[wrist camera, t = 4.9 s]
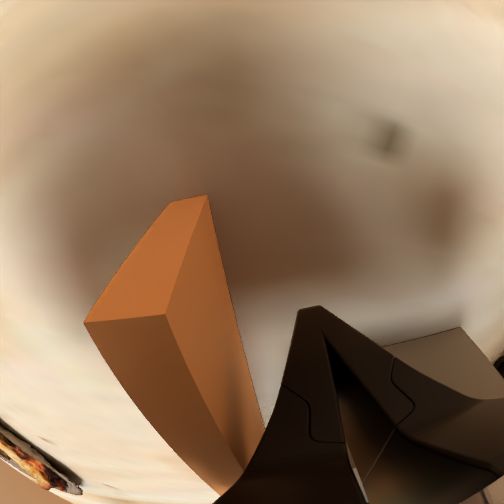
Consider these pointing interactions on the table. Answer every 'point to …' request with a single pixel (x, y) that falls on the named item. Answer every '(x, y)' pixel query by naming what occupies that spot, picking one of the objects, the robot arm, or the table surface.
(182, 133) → the table surface
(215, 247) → the side door
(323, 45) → the table surface
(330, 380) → the robot arm
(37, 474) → the food plate
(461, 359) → the camera case
